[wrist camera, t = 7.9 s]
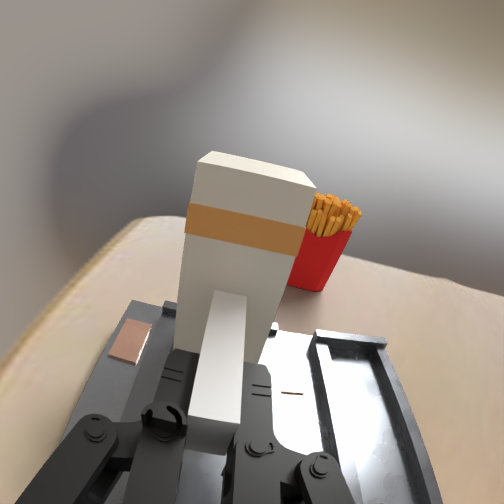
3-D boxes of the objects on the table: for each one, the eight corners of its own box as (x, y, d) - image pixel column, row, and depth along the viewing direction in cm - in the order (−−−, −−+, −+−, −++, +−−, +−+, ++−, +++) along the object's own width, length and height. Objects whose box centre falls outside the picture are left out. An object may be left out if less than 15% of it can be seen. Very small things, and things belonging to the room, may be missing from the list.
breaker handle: (250, 346, 21) (303, 171, 15) (249, 388, 17) (318, 189, 12) (182, 332, 20) (211, 150, 15) (170, 374, 17) (196, 161, 11)
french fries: (269, 280, 37) (296, 189, 31) (272, 266, 40) (296, 183, 35) (332, 296, 36) (366, 211, 31) (329, 281, 40) (359, 202, 35)
